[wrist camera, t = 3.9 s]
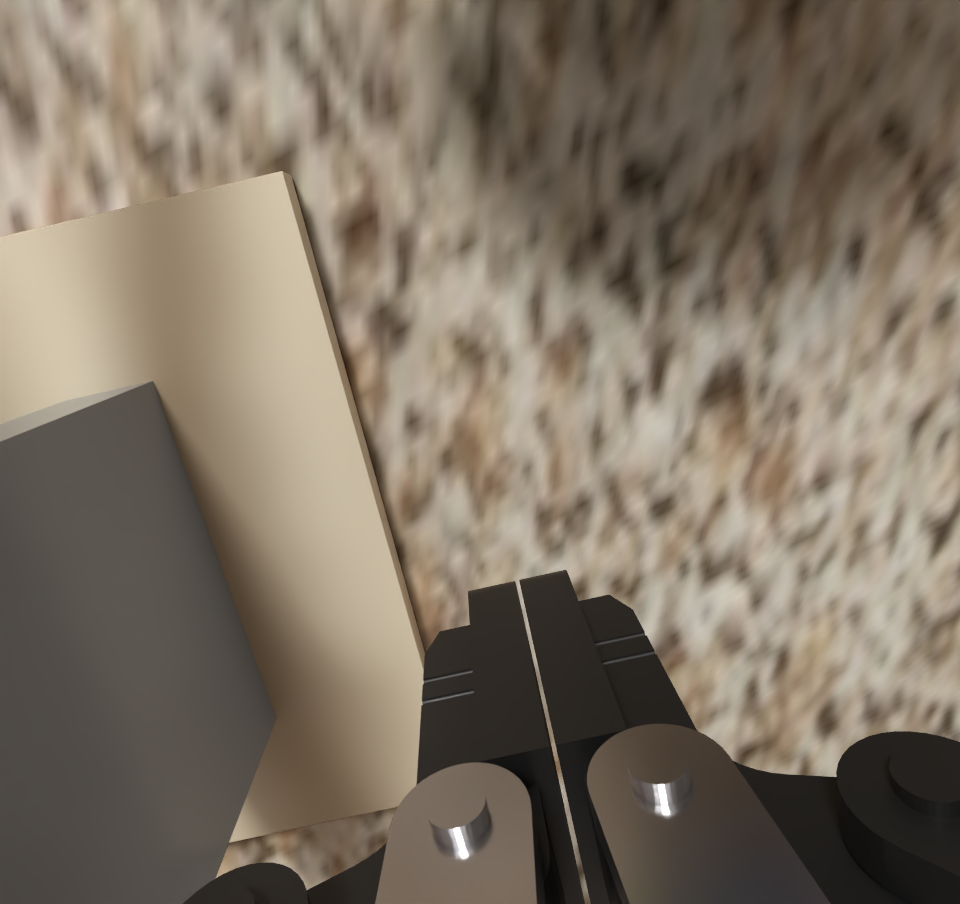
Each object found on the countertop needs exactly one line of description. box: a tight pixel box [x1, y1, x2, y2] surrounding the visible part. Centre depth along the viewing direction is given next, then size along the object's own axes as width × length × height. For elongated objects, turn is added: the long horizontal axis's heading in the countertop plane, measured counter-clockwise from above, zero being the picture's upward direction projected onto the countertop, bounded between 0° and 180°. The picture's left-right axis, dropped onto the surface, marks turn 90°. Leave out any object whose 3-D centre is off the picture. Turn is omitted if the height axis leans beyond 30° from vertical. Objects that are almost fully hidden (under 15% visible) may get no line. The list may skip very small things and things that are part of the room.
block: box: [0, 381, 276, 904], centre depth 11 cm, size 2×9×9 cm, turn 13°
